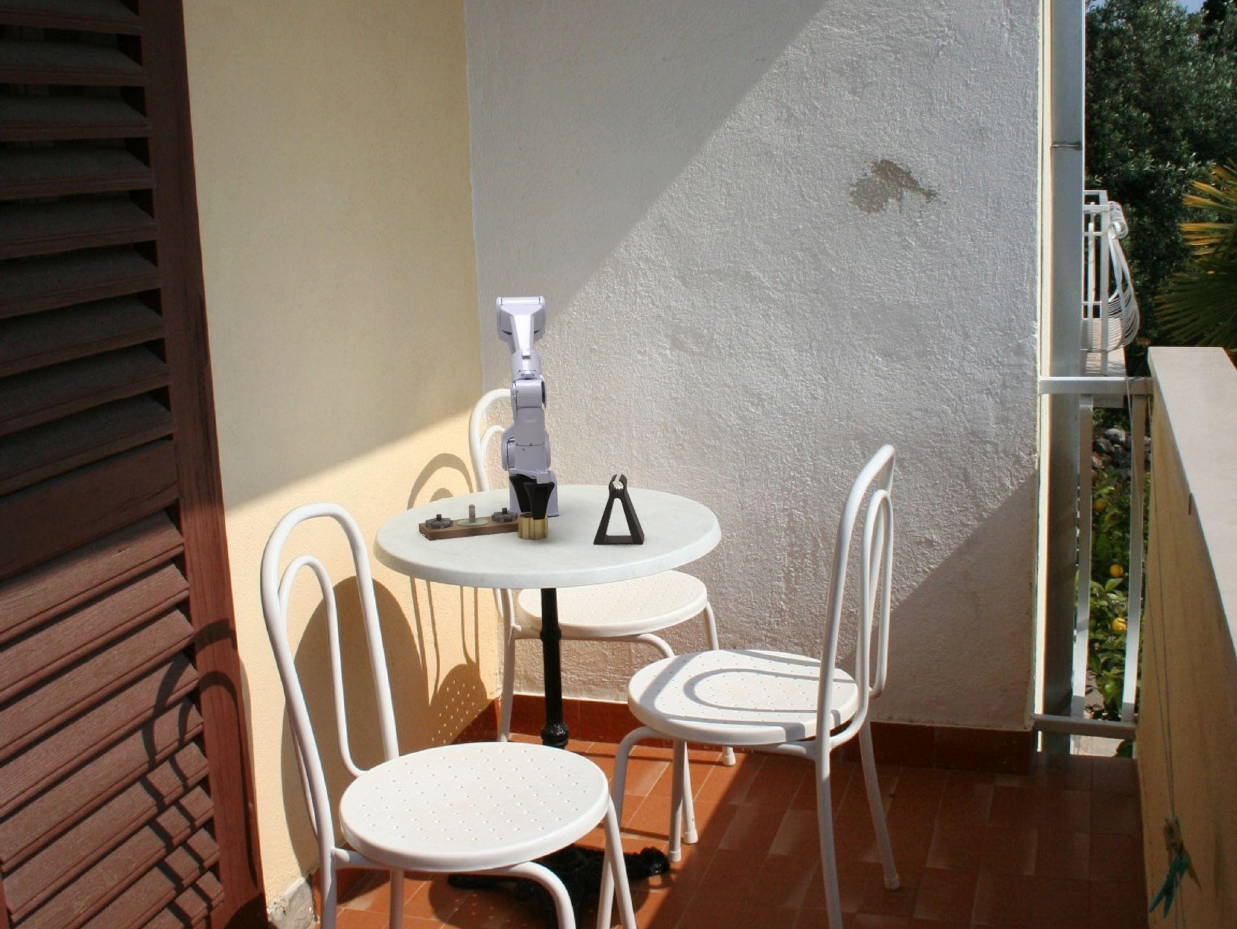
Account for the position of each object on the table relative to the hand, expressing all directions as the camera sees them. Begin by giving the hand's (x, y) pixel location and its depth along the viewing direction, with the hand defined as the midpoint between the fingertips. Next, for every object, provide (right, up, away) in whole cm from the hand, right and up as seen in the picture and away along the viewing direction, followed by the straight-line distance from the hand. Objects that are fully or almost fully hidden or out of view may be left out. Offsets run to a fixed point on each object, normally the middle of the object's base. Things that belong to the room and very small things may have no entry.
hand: (532, 515), depth 230 cm
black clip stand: (+16, -5, -5) cm, 17 cm away
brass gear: (0, -4, +1) cm, 4 cm away
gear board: (-12, -3, +7) cm, 14 cm away
